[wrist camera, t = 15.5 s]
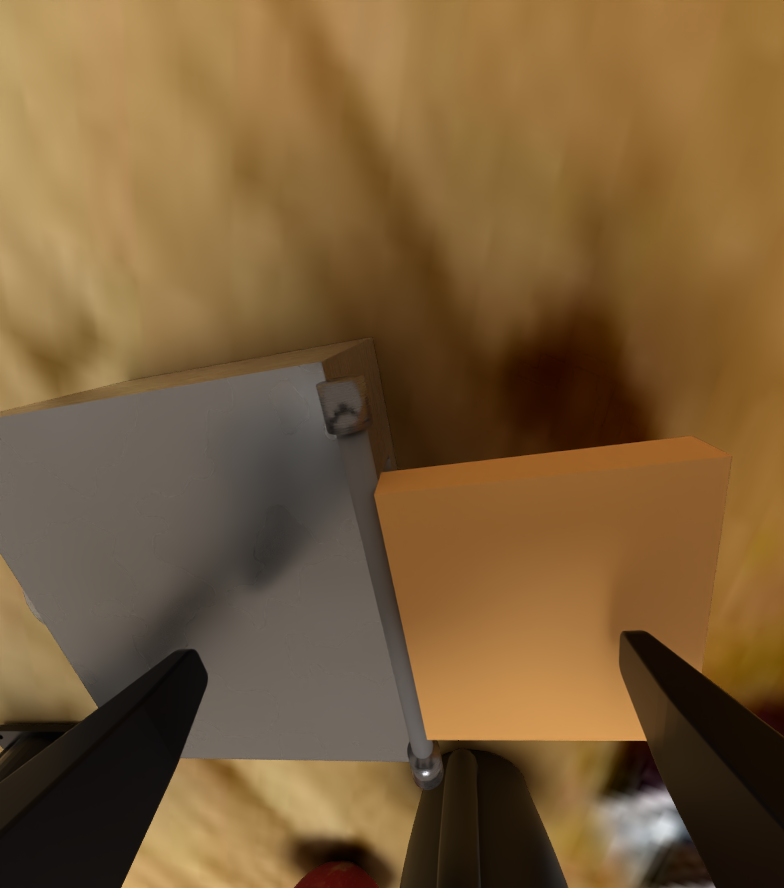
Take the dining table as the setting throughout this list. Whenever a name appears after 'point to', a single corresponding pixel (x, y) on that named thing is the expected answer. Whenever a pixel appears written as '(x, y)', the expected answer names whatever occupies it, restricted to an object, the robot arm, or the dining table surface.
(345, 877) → the apple
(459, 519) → the tan flat slab
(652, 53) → the dining table surface
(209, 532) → the block
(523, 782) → the mug
